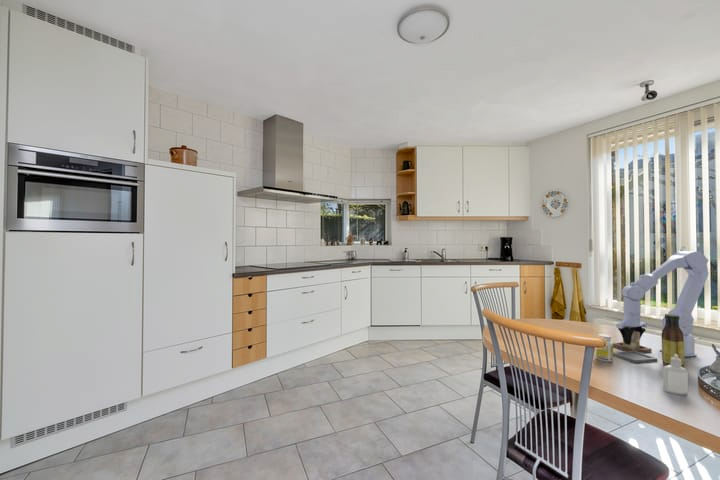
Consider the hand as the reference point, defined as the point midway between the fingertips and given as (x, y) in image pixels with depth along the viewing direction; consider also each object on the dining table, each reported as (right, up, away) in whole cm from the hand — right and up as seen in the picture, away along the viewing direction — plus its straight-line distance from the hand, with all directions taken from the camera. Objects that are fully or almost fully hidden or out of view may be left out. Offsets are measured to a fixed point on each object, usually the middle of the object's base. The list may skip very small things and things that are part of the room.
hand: (631, 343), depth 143 cm
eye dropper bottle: (-20, -3, -40) cm, 45 cm away
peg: (0, -2, 0) cm, 2 cm away
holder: (0, -2, 0) cm, 2 cm away
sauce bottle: (0, -3, -19) cm, 19 cm away
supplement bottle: (-22, -2, -13) cm, 25 cm away
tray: (-8, -2, -11) cm, 14 cm away
